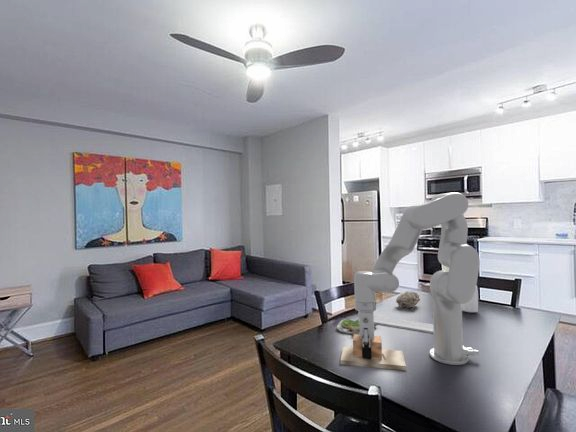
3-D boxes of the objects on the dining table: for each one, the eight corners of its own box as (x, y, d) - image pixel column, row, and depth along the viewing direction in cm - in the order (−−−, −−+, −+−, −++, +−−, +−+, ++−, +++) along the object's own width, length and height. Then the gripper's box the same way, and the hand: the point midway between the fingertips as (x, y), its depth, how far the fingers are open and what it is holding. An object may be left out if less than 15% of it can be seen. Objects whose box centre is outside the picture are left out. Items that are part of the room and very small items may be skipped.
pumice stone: (406, 302, 185) (405, 289, 185) (425, 306, 176) (425, 292, 176) (393, 307, 176) (393, 293, 176) (413, 312, 167) (412, 297, 167)
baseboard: (373, 316, 163) (366, 323, 153) (373, 311, 163) (365, 317, 153) (438, 326, 146) (434, 335, 136) (438, 320, 146) (434, 328, 136)
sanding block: (381, 352, 115) (381, 336, 115) (382, 359, 110) (381, 342, 110) (354, 350, 118) (353, 334, 118) (353, 357, 112) (352, 340, 112)
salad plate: (372, 341, 131) (372, 330, 131) (331, 335, 138) (331, 325, 138) (379, 325, 148) (378, 316, 148) (342, 321, 156) (342, 312, 156)
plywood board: (402, 354, 116) (402, 350, 116) (406, 370, 105) (405, 365, 105) (343, 350, 122) (343, 346, 122) (340, 364, 110) (340, 359, 110)
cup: (456, 311, 165) (455, 284, 165) (466, 309, 169) (466, 283, 169) (471, 315, 158) (470, 288, 158) (482, 313, 161) (481, 286, 161)
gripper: (376, 312, 105) (378, 366, 105) (375, 299, 121) (377, 345, 121) (353, 311, 107) (355, 364, 107) (356, 298, 123) (357, 343, 123)
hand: (367, 353), depth 114 cm, fingers closed on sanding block, 6 cm apart
